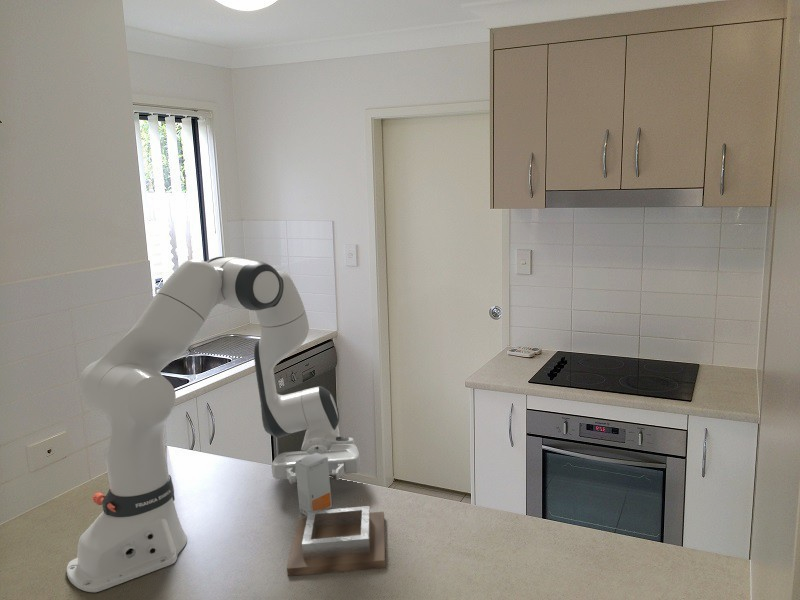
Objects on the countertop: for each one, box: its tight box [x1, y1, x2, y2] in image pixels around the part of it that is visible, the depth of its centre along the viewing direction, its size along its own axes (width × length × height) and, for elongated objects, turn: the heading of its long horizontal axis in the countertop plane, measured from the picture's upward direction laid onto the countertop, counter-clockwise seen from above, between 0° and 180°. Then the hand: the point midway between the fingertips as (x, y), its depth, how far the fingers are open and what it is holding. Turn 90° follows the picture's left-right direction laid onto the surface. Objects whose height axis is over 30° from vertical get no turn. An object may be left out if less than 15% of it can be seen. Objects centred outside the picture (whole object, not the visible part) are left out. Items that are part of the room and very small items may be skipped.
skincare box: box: [295, 453, 333, 516], centre depth 147 cm, size 6×4×12 cm
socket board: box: [286, 505, 386, 577], centre depth 133 cm, size 18×18×4 cm
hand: (313, 478), depth 149 cm, fingers open, 8 cm apart
